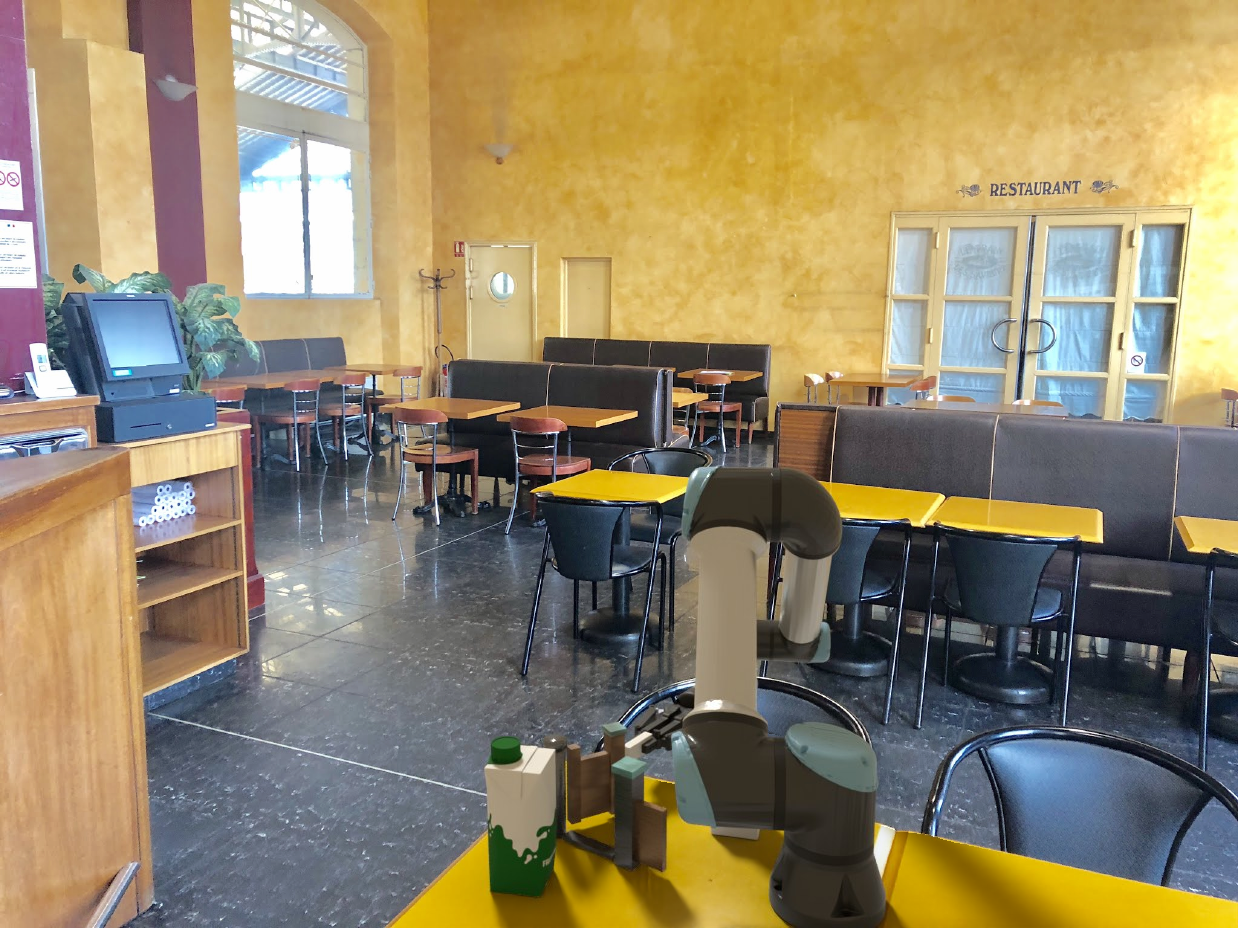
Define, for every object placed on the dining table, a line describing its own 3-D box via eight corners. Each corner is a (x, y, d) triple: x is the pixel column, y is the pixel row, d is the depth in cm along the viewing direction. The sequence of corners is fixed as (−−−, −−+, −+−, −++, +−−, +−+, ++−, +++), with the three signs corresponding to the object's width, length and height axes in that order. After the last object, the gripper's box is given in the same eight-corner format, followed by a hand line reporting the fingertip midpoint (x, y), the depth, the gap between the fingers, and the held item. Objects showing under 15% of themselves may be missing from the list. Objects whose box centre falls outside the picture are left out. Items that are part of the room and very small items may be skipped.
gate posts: (671, 871, 132) (672, 770, 130) (657, 883, 129) (657, 781, 127) (554, 824, 145) (553, 732, 142) (539, 834, 142) (538, 740, 140)
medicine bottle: (762, 816, 147) (764, 744, 145) (758, 840, 140) (759, 765, 138) (717, 811, 149) (718, 739, 147) (710, 834, 142) (711, 759, 140)
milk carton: (502, 858, 135) (499, 727, 132) (562, 866, 134) (561, 732, 131) (481, 894, 127) (477, 754, 124) (545, 902, 125) (544, 761, 122)
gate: (617, 803, 149) (617, 721, 147) (626, 811, 146) (626, 728, 144) (565, 817, 144) (564, 733, 142) (573, 826, 142) (572, 741, 140)
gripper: (733, 735, 167) (659, 788, 148) (671, 717, 174) (593, 765, 155) (734, 694, 166) (659, 743, 147) (671, 678, 173) (593, 722, 154)
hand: (625, 754), depth 151 cm, fingers closed
